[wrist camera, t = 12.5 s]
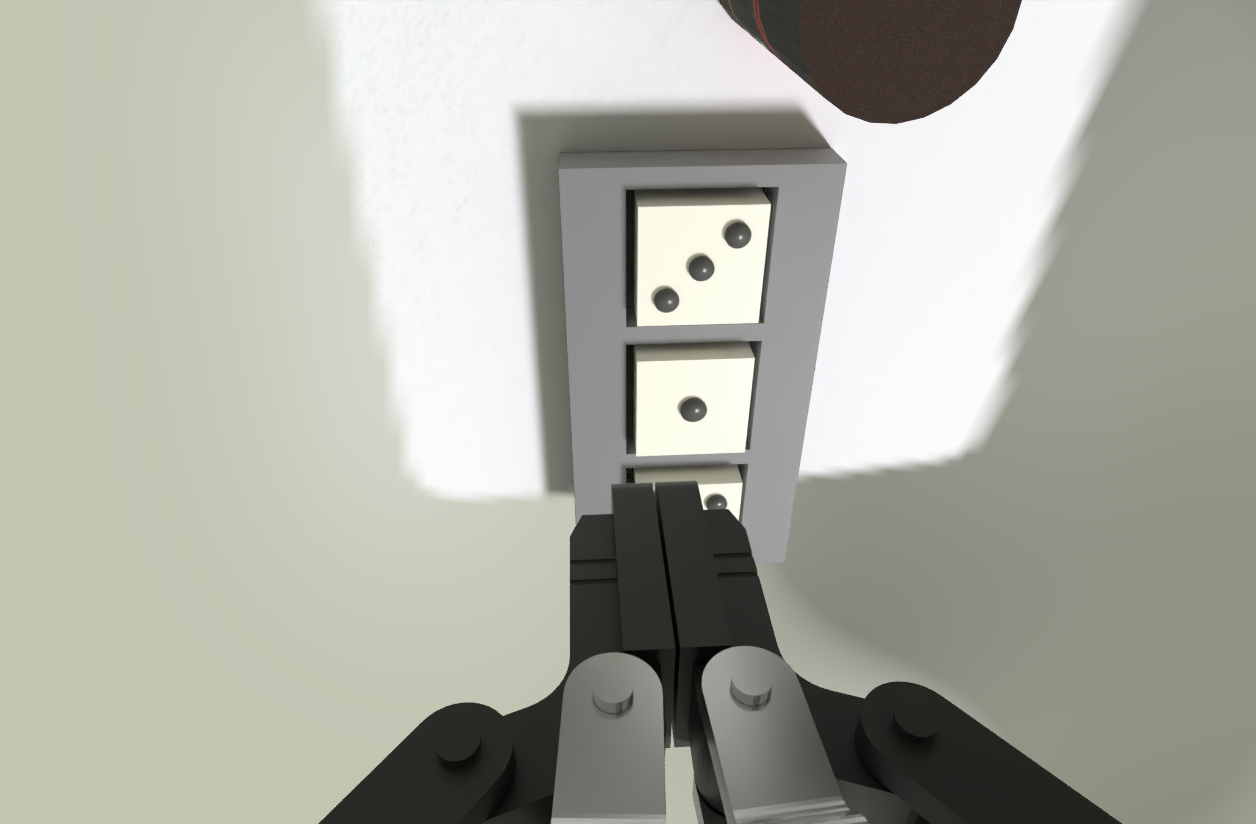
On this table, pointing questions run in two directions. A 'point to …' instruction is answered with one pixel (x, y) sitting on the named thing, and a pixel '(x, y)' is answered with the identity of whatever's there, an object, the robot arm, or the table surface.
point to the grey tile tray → (779, 341)
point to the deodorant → (882, 49)
